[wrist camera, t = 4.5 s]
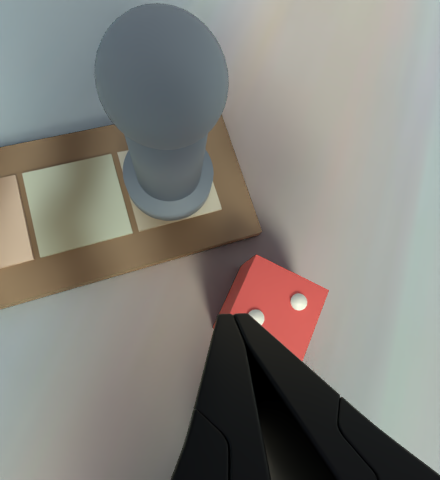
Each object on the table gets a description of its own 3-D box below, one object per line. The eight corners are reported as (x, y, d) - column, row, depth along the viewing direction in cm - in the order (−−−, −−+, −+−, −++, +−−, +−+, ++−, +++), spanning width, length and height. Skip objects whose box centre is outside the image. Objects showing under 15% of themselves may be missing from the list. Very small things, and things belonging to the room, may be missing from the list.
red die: (299, 295, 22) (329, 289, 18) (274, 357, 21) (300, 369, 17) (240, 266, 22) (256, 254, 18) (212, 327, 21) (221, 331, 17)
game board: (216, 111, 25) (218, 101, 24) (258, 235, 23) (262, 230, 22) (-113, 179, 21) (-131, 171, 20) (-92, 335, 19) (-110, 337, 18)
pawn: (228, 183, 22) (283, 42, 11) (167, 238, 21) (154, 143, 9) (171, 127, 23) (166, -69, 11) (108, 177, 21) (25, 13, 10)
